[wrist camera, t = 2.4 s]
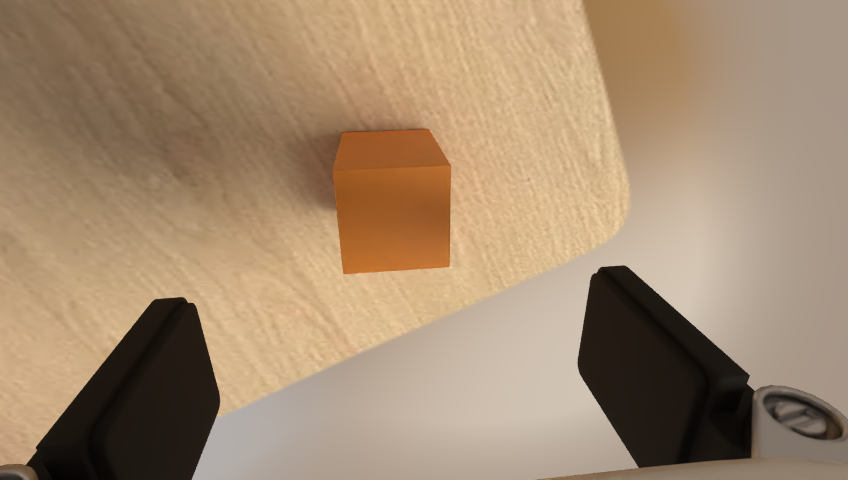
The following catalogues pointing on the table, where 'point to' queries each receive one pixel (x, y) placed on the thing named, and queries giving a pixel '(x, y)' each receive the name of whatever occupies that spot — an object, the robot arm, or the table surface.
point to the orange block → (392, 201)
